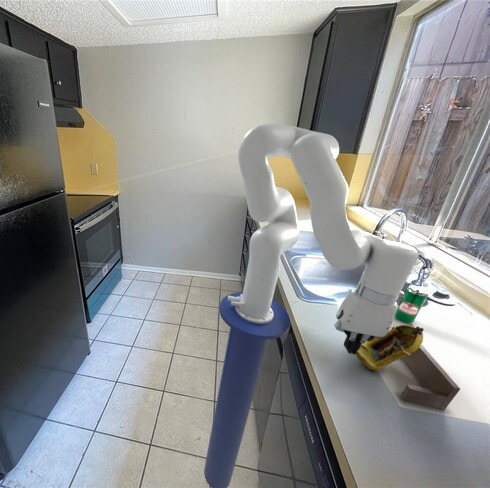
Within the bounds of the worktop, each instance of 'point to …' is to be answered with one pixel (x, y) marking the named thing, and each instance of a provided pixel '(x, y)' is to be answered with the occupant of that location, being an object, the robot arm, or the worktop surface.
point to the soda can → (411, 304)
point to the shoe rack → (428, 381)
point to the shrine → (390, 346)
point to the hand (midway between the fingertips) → (349, 349)
